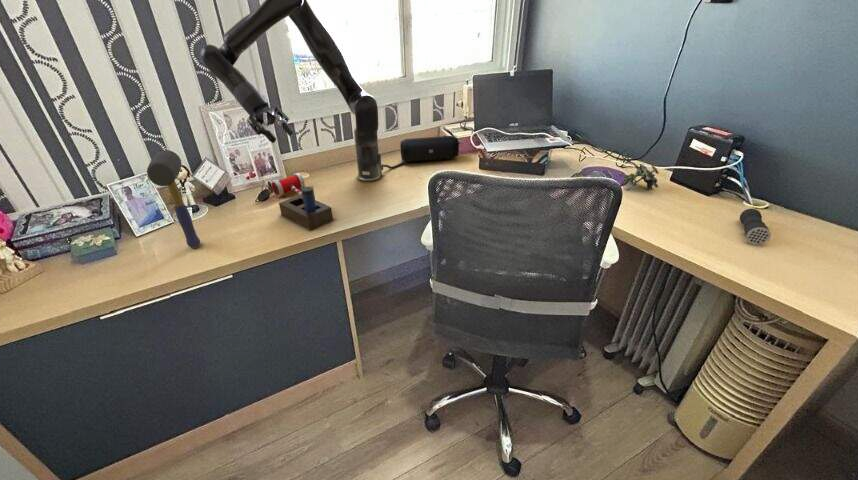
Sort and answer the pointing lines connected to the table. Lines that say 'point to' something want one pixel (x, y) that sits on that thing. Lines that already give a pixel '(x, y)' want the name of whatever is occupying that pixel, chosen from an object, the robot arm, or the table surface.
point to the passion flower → (645, 175)
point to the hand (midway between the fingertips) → (283, 137)
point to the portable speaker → (429, 148)
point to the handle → (308, 199)
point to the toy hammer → (288, 185)
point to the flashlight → (754, 227)
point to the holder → (305, 213)
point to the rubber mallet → (173, 190)
